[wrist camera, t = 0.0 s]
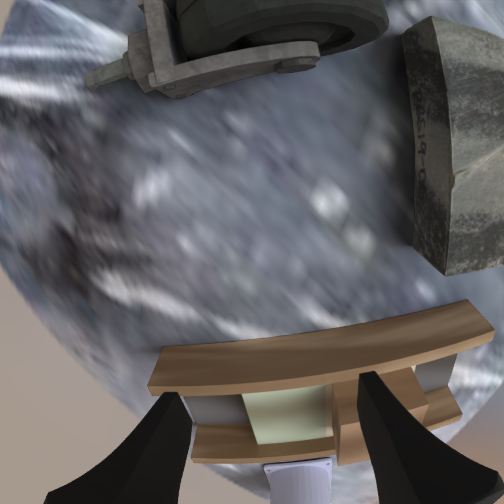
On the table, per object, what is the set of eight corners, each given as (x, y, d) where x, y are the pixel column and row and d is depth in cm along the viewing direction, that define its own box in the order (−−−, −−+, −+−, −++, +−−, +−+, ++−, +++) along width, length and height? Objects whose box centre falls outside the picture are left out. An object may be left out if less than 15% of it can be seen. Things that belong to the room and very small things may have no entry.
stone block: (494, 56, 13) (539, 49, 8) (496, 236, 19) (537, 263, 14) (396, 33, 14) (435, 10, 9) (407, 246, 19) (443, 280, 14)
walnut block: (399, 412, 21) (411, 448, 18) (332, 427, 22) (338, 465, 18) (410, 365, 19) (428, 403, 15) (332, 381, 20) (340, 425, 16)
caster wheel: (331, 2, 14) (98, 48, 14) (397, -72, 5) (8, 4, 5) (350, 79, 16) (111, 127, 16) (443, 45, 7) (13, 129, 7)
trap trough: (443, 389, 24) (459, 420, 20) (201, 427, 27) (194, 462, 23) (467, 299, 20) (495, 330, 16) (163, 346, 23) (146, 386, 19)
